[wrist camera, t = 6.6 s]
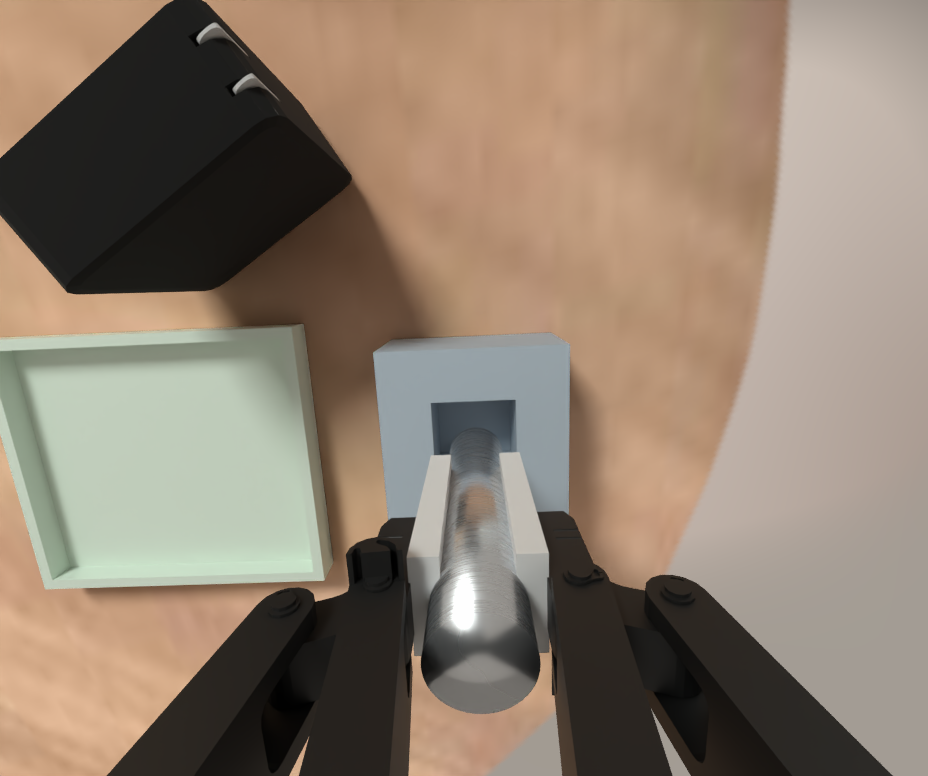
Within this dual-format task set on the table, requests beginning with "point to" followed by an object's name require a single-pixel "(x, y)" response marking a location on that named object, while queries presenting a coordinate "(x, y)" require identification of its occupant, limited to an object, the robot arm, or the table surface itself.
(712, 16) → the table surface
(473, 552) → the cylinder
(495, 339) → the square hole cube
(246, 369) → the tray
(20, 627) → the table surface
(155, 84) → the electronic device
